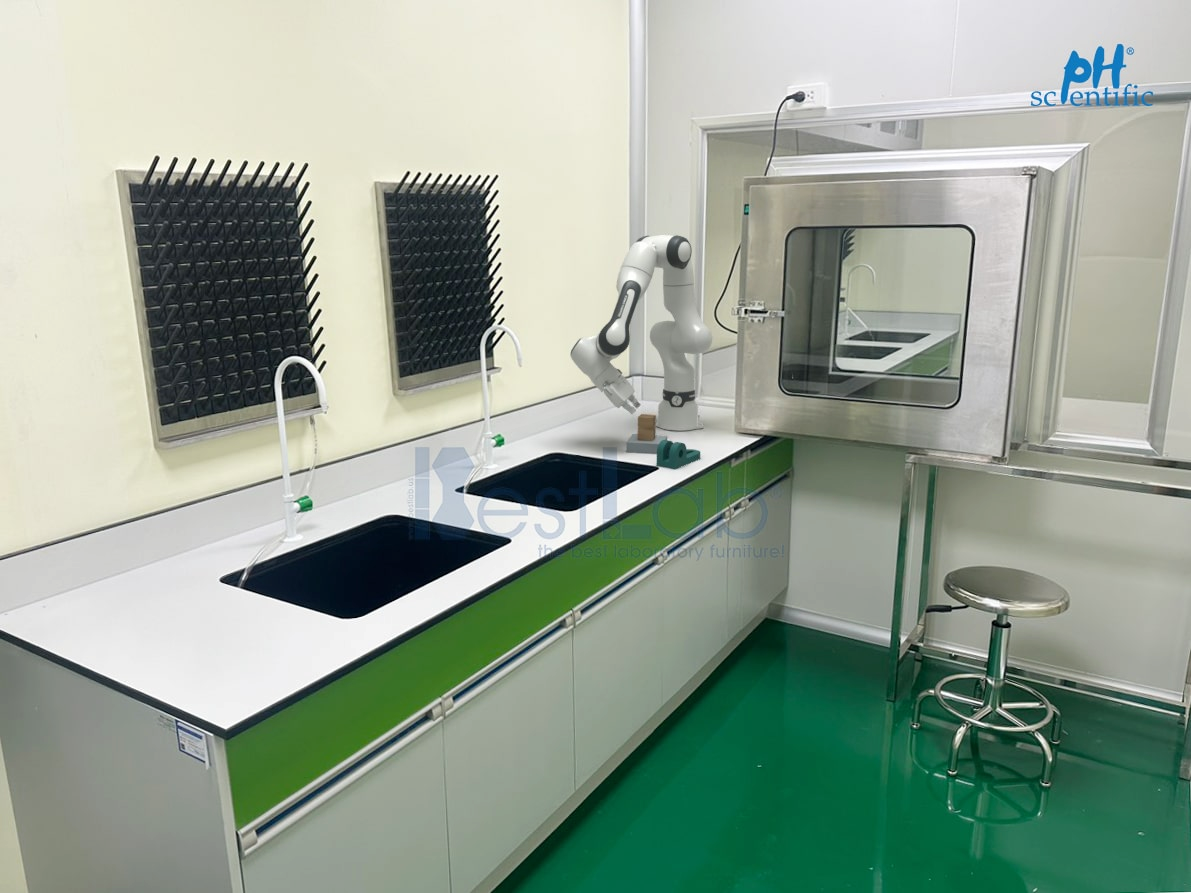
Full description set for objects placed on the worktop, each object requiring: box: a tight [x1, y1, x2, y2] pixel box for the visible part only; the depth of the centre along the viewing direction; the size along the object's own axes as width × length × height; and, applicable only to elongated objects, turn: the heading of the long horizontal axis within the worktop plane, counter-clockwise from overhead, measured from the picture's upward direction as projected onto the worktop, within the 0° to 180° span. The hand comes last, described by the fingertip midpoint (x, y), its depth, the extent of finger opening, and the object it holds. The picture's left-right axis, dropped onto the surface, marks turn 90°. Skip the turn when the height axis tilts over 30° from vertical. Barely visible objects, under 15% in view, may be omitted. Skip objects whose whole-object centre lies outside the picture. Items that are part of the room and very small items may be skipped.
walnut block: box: [637, 413, 657, 441], centre depth 289 cm, size 5×5×8 cm
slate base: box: [625, 433, 668, 455], centre depth 291 cm, size 12×12×4 cm
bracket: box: [656, 439, 701, 470], centre depth 275 cm, size 18×7×8 cm, turn 143°
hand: (636, 409), depth 289 cm, fingers open, 8 cm apart
